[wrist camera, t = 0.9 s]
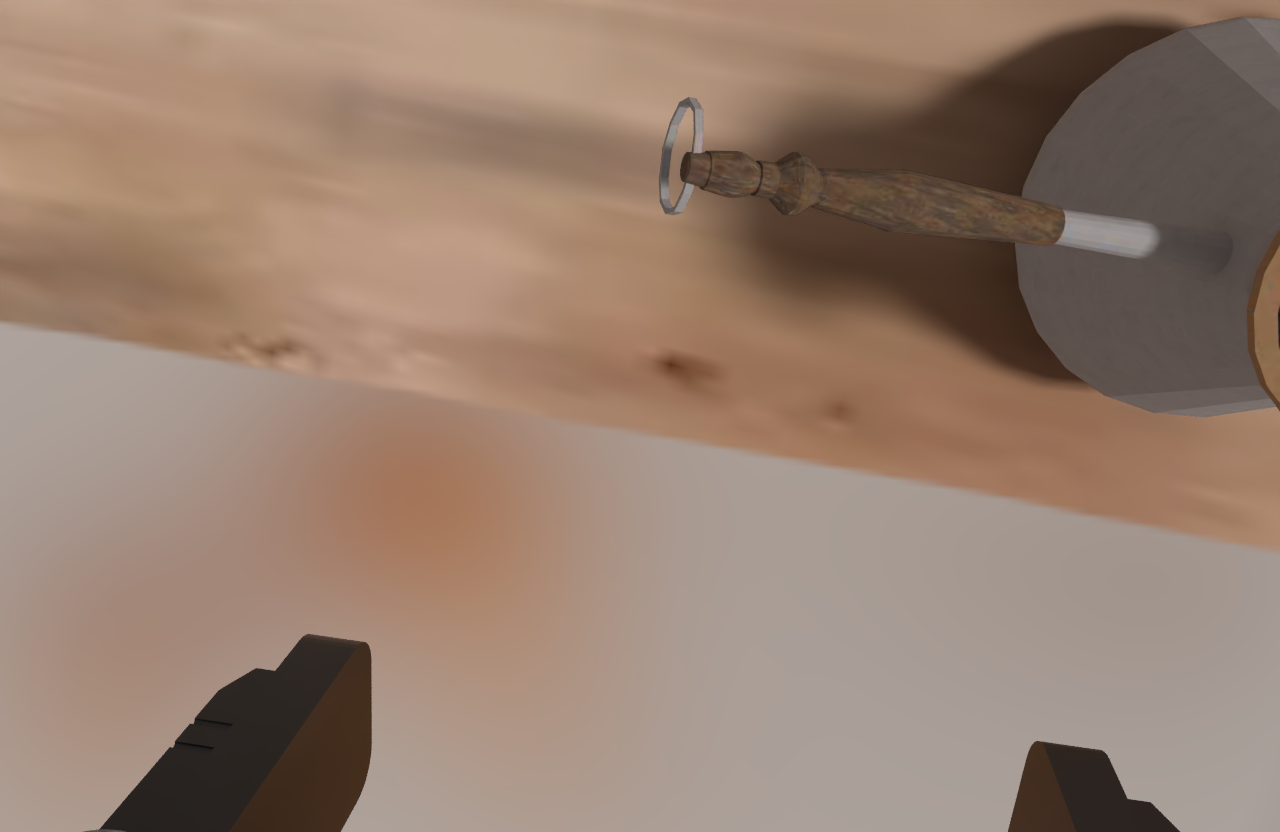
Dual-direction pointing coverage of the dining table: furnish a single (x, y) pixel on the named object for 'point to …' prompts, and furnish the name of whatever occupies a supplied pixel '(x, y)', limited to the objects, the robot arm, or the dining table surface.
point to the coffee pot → (1107, 219)
